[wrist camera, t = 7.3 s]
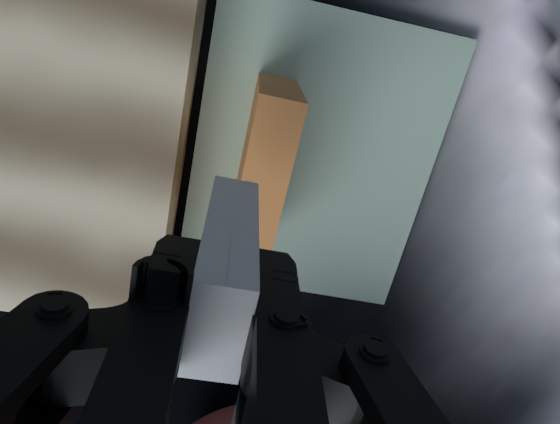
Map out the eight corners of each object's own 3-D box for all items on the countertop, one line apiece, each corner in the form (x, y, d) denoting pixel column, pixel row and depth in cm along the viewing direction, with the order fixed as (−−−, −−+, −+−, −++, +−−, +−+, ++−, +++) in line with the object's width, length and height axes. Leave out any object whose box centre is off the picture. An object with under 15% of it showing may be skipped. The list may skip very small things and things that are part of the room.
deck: (-109, -152, 21) (-189, -186, 17) (217, -71, 22) (209, -85, 19) (-76, 254, 28) (-126, 292, 25) (165, 292, 30) (152, 332, 26)
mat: (221, -21, 23) (219, -22, 23) (473, 39, 25) (477, 40, 24) (177, 266, 29) (175, 270, 29) (381, 299, 31) (384, 304, 30)
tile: (259, 93, 19) (308, 104, 19) (258, 72, 24) (297, 81, 25) (218, 286, 22) (261, 294, 22) (226, 230, 28) (260, 236, 28)
